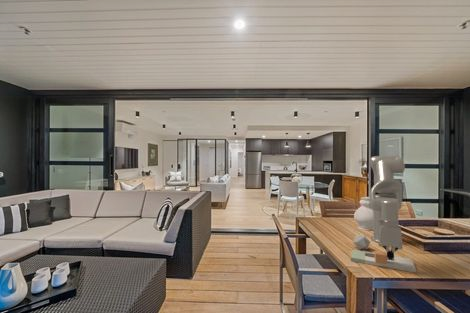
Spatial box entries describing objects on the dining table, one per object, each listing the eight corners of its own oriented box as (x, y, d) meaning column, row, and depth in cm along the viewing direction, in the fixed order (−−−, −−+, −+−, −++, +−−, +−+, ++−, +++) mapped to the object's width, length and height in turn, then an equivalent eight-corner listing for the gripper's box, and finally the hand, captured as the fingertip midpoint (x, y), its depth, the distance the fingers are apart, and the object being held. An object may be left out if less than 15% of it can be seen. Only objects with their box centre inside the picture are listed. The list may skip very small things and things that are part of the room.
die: (369, 253, 144) (374, 238, 148) (355, 245, 146) (360, 230, 149) (362, 253, 152) (367, 239, 156) (348, 245, 154) (354, 231, 157)
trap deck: (351, 253, 144) (351, 249, 144) (411, 262, 130) (411, 259, 130) (350, 261, 132) (350, 257, 132) (415, 272, 118) (415, 268, 118)
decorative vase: (362, 224, 207) (361, 195, 208) (383, 229, 192) (383, 198, 192) (349, 227, 198) (349, 197, 199) (371, 232, 183) (370, 200, 183)
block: (374, 258, 130) (374, 250, 130) (385, 260, 128) (385, 251, 128) (375, 262, 125) (375, 253, 126) (386, 264, 123) (386, 255, 123)
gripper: (373, 223, 126) (374, 258, 126) (408, 227, 119) (409, 264, 119) (373, 220, 133) (373, 253, 132) (406, 223, 126) (406, 259, 126)
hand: (390, 258), depth 126 cm, fingers closed
